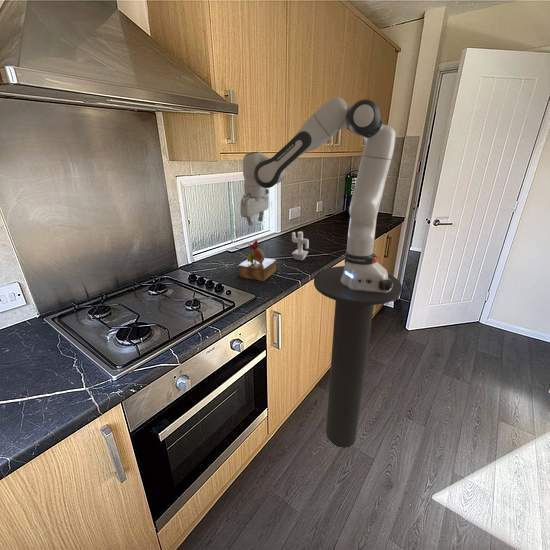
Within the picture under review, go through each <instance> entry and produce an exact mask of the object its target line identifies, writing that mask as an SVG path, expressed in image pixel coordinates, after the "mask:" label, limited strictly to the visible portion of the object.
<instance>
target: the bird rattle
mask: <svg viewBox="0 0 550 550" xmlns="http://www.w3.org/2000/svg"><path fill="white" fill-rule="evenodd" d="M259 245H260V243H259V242H258V239H256V240H254V242H253V243H252V244H251V243H248V246H249V248H250V249H251V250H252V251H251V253H248V254H247V255H246V256H247V259H246V260H247V261H248V262H249V261H250V263H253V261H254V260H255V261H257V262H259V263H260V264H262V263H263V261H264V258H266V257H265V253H264V251H263V250H262V249H261V248H260V247H259Z"/></svg>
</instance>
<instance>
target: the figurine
mask: <svg viewBox="0 0 550 550" xmlns="http://www.w3.org/2000/svg"><path fill="white" fill-rule="evenodd" d="M291 242H292V243H295V244H297V249H295V250H293V251H292V252H291V255H292V257H293V259H294V260H296V261H297V260H298V261H303V260H305V259H306V257H307V255H308V253H309V252H310V251H309V250H308V249H309V248H310V247H309V246H310V241H309V239H308V238H304V232H303V231H297V237H296V232H295V231H293V232H291ZM304 245H305V250H304V249H303V248H304V247H303V246H304Z"/></svg>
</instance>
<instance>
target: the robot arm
mask: <svg viewBox="0 0 550 550" xmlns="http://www.w3.org/2000/svg"><path fill="white" fill-rule="evenodd" d="M342 129H347V130H348V131H350V132H351V133H353V134H354V135H356V136H362V138H363V139H364V140H363V141H364V144H363V150H362V154H361V157H360V163H359V167H358V171H357V176H356V180H355V183H354V187H353V192H352V195H351V200H350V203H349V208H348V214H349V222H348V223H349V224H348V231H347V242H346V250H345V253H344V266H345V267H344V271H343V275H342V277H341V282H342V283H343V284H344V285H346V286H348V287H349V289H351V290H360V291H371V292H382V293H387V292H389V291H391V289H392V287H393V281H391V280H390V279H388V274H389V273H388V270H387V269H386V268H385V267H383V266H382V265H381V264H380V263H379V262H378V253H375V252H374V247H375V246H374V245H375V238H376V227H377V219H378V218H377V217H378V213H379V210H380V207H381V202H382V198H383V194H384V190H385V186H386V182H387V178H388V174H389V170H390V167H391V163H392V159H393V156H394V151H395V146H396V136H397V134H396V131H395V129H394V127H392V126H390V125H387V124H383V120H382V116H381V111H380V108H379V106H378V104H377V103H376V102H375V101H373V100H371V99H369V98H363V99H360V100H358V101H356V102H355V103H354V104H352V105H350V104H349V103H348V102H347V101H345V100H344V99H343V98H342V97H339V96H334V97H332V98H330V99H329V100H328V101H326V102H325V103H323V104H322V105H321V106H319V108H318V109H316V110H315V111H314V112H313V113H312V114H311V115H310V116H309V117H308V118H307V120H305V121H304V123H303V124H302V125H301V127H300V128H299V129H298V130H297V132H296V133H295V134H294V136H293V137H292V138H291V139H290V140H289V141H288V142H287V143H286V144H285V145H284V146H283V147H281V148H280V150H278V152H276V153H275V154H274V155H273V156H272V157H268V156H267V155H265V154H264V153H262V151H253V152H249V153H246V154H245V155H244V156H243V159H242V176H243V179H244V181H243V195H242V198H241V200H240V207H239V208H240V209H239V210H240V216H241V218H246V221H247V225H248V226H249V227H252V226H253V225H254V221H253V220H252V218H253V216H255V215H257V214H258V217H257V221H258V222H263V221H264V216H265V211H267V210H268V209H269V206H270V203H269V202H270V199H269V194H270V188H272V187H274V186H276V185H277V184H279V183H281V182H282V181H284V179H285V177H286V175H287V168H288V167H289V166H290V165H291V164H292V163H293V162H294V161H296V160H297V159H298V158H299V157H301V156H302V155H304V154H306V153H308V152H311V151H314V150H315V149H318V148H320V147H321V146H323V145H324V144H325V143H327V142H328V141H330V139H331V138H333V137H334V136H335V135H336V134H337V133H338V132H339V131H341V130H342Z"/></svg>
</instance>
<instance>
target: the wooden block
mask: <svg viewBox="0 0 550 550" xmlns="http://www.w3.org/2000/svg"><path fill="white" fill-rule="evenodd" d="M237 267H238V271H239V273H238V274H239V278H244V279H250V280H255V281H261V282H265V281H266V280H267V279H269V278H270V277H271V276H272V275H273V274H275V273H276V272H277V259H274V258H266V257H265V258H264V261H263V263H262V264H260V263H259V262H257V261H255V260H254V261H253V263H250V261H249V262H248V261H247V259H246V260H244V261H242V262H241V263H239V264H237Z"/></svg>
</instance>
